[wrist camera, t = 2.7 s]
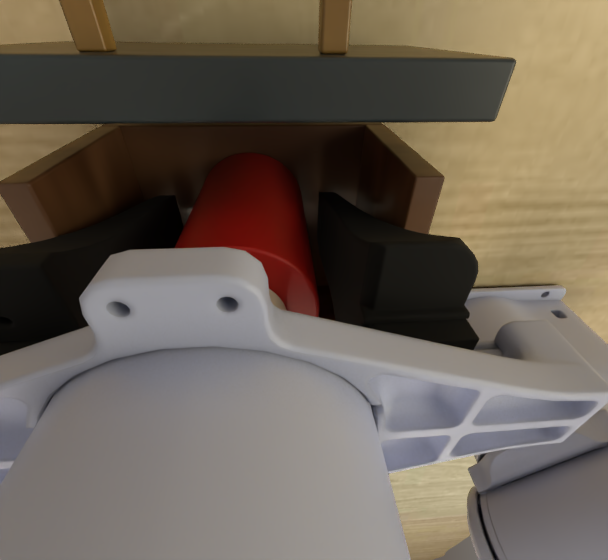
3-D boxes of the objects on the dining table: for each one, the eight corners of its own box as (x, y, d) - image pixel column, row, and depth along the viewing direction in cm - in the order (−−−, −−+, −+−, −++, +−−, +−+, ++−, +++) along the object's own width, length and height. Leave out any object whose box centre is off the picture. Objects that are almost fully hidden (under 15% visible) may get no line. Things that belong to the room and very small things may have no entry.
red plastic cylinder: (302, 151, 13) (331, 279, 6) (301, 242, 16) (321, 398, 9) (193, 152, 13) (104, 287, 6) (212, 245, 15) (165, 408, 9)
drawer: (-28, -201, 8) (-688, -709, 2) (444, -174, 9) (724, -508, 3) (155, 289, 18) (105, 401, 13) (365, 281, 19) (402, 383, 14)
